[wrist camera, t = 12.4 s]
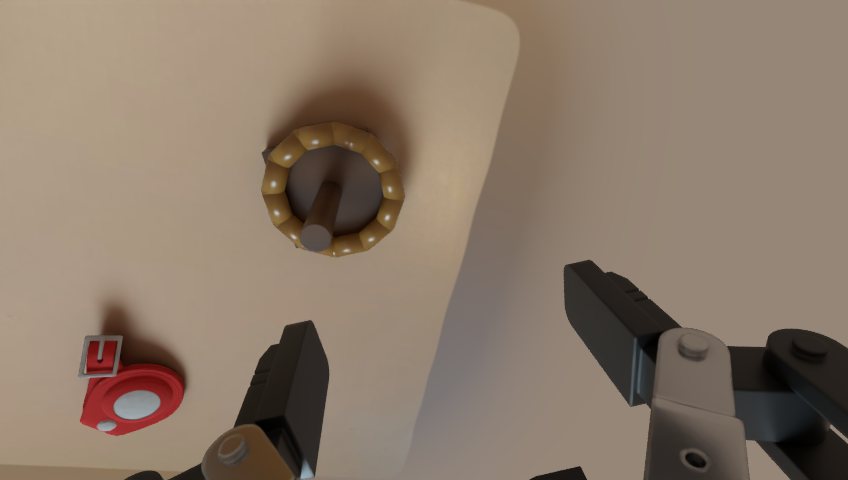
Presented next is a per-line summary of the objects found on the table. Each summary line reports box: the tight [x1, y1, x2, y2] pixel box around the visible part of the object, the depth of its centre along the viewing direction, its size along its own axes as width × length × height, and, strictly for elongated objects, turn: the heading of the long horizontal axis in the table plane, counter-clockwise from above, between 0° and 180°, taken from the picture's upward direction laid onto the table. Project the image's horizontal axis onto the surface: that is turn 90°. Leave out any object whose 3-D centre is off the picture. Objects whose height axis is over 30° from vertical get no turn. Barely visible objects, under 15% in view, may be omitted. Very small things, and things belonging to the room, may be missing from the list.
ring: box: [261, 121, 405, 257], centre depth 34 cm, size 12×12×2 cm
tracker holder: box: [78, 335, 184, 436], centre depth 40 cm, size 12×4×10 cm
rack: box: [262, 128, 384, 252], centre depth 31 cm, size 9×9×12 cm
